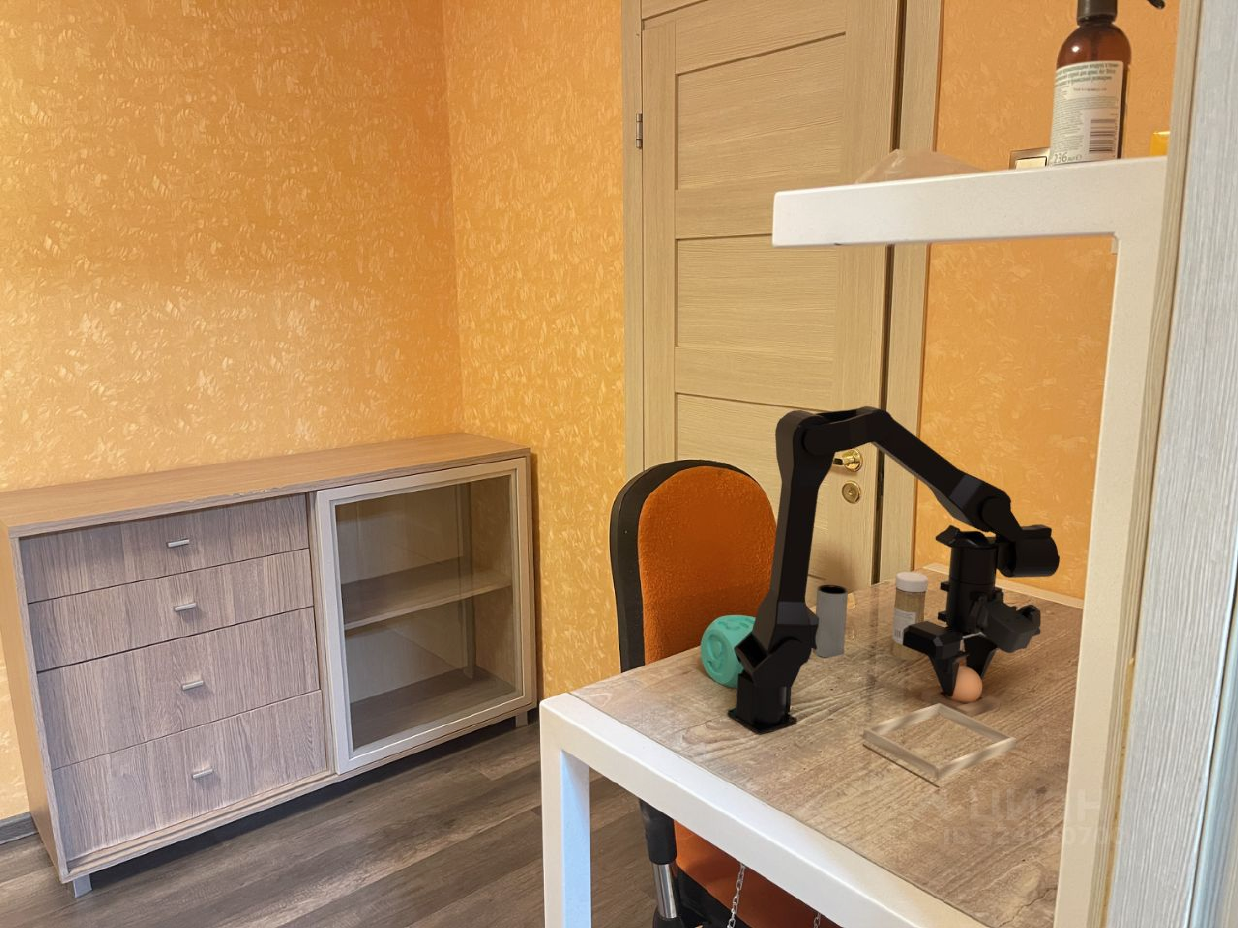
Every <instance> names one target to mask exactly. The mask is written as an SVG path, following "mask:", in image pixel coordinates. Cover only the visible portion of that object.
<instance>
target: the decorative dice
mask: <svg viewBox="0 0 1238 928" xmlns="http://www.w3.org/2000/svg"><path fill="white" fill-rule="evenodd" d="M755 619H756V616H755V617H754V616H749V615H743V614H729V615H723V616H719V617H716V618H715V619H714V620H713V621H712V622H711V623H710V624H709V625H708V627H707V628H706V629H705V631H704V633H703V636H702V637H701V638H702V639H701V641H700V657H701V661H702V664H703V667H704V669H705V671H706V672H707V675H709V676H710V678H711V679H712V680H714V682H716V683H717V684H719V685H721V684H722V686H724V685H725V687H729V688H733V687H734V688H735V689H737V678H738V674H739V673H742V670H743V669H744V668H743V666H742V665H741V664H740V663H739V662H738V660H737V657H736V654H735V651H734V647H735V646H736V645H737V644H738V643H740V642H741V641H742V640H743V639H744V638H745V637H746V636H747V635H748V634H749V633H750V632H751V631H752V629H753V625H754V622H755ZM734 688H733V689H734Z"/></svg>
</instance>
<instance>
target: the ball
mask: <svg viewBox="0 0 1238 928" xmlns="http://www.w3.org/2000/svg"><path fill="white" fill-rule="evenodd" d="M982 681H983V680H982ZM982 681H981V679H980V677H979V675H978V674H977V673H976V672H975V671H974V670H973V669H971V668H969V667H967V665H959V669H958V674H957V680H956V685H955V689H954V693H953V696H951V697H950V696H947V695H946V696H947V697H948V698H951V699H953V700H955V701H957V702H960V703H962V704H964V705H965V704H967V703H970V702H973V701H976V700H977V699H978V698H979V696H980V695H981V692H983V682H982Z"/></svg>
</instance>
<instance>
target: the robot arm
mask: <svg viewBox="0 0 1238 928" xmlns="http://www.w3.org/2000/svg"><path fill="white" fill-rule="evenodd" d="M774 431H775V435H774V436H775V437H774V438H775V454H776V461H777V466H778V470H779V475H780V479H781V485H780V486H781V487H780V496H779V505H778V513H777V520H776V528H775V529H776V530H775V537H774V547H773V555H772V562H771V571H770V579H769V588H768V590H767V593H766V595H765V596H764V598H763V599H762V601H761V602H760V605H759V607H758V609H757V613H756V616H755V618H756V619H755V622H754V625H753V629H752V631H751V632H750V633H749V634H748V635H747V636H746V637H745V638H744V639H743V640H742V641H741V642H740V643H738V644H737V645H736V646H735V647H734V651H735V654H736V657H737V660H738V662H739V663H740V664H741V665H742V666H743V668H744V669H743V670H742V673H739V674H738V678H737V688H736V702H735V703H736V704H735V707H734V708H732V709H729V710H727V716H728V717H731V718H732V719H734V720H735V721H737V722H738V723H741V725H743V726H745V727H747V728H749V729H750V730H752V731H753V732H755V733H757V734H759V735H761V734H762V735H763V734H765V733H768V732H769V733H770V732H772V731H775V730H779V729H781V728H785V727H788V726H791V725H795V724H797V721H798V718H797V717H795V716H793V715H791V714H790V713H791V704H792V703H791V702H792V687H793V686H794V683H795V682H796V678H797V677H798V674H799V672H800V670H801V667H802V666H804V664H807V663H808V662H809V660H810V658H811V655H812V649H813V650H814V649H815V650H816V649H817V646H816V633H817V629H818V626H819V617H818V616H817V615H816V612H813V610H811V608H810V607H808V605H807V603H806V595H807V594H806V593H807V585H808V578H809V571H810V562H811V553H812V544H813V539H814V531H815V530H814V528H815V521H816V516H817V515H816V514H817V513H816V512H817V506H818V498H819V492H820V491H819V490H820V488H821V486H822V484H823V482H824V481H825V479H826V477H827V475H828V474H829V472H830V471H831V468H832V465H833V462H834V459H835V455H836V453H839V452H840V453H841V452H844V451H849V450H853V449H856V448H860V446H864V445H866V444H871V445H873V446H874V447H875V448H876V449H878V450H879V451H881V452H882V453H883V454H885V455H886V456H887V457H889V459H891V460H892V461H894V462H895V463H896V464H898V466H900V467H901V468H903V469H905V470H906V471H907V472H909V473H910V475H912V476H914V478H916V479H917V480H919V481H920V482H922V484H924V485H926V486H927V487H928V488H929V490H931V492H932V493H933V495H934V497H935V498H936V500H937V501H938V503H939V504H940V505H941V506H942V507H943V509H944V510H945V511H946V512H947V513H948V514H949V515H950V516H951V518H953V519H954V520H957V521H959V522H960V523H963V524H966V525H967V526H970V527H972V528H974V529H976V530H961V529H960V528H959V527H957V526H955V525H952V524H949V525H948V527H946V529H945V530H943V531H941V532H940V533H938V534H937V535H936V536H935V538H934V539H935V541H936V542H939V543H940V544H942V545H944V546H945V547H947V548H950V554H949V555H950V557H949V567H948V576H947V577H948V579H947V580H945V581H941V582H940V588H939V590H941V591H942V592H943V591H944V592H946V600H945V601H946V602H945V610H941V611H938V612H937V621H940V622H944V623H945V626H942V625H940V624H937V623H934V622H932V621H929V620H925V621H924V622H920V623H916V624H912V625H909V626H908V627H906V628H905V629H904V630H903V641H902V644H903V646H906V647H908V648H911V649H913V650H915V651H918V652H920V653H921V654H923V655H925V656H927V658H928V659H929V661H930V663H931V666H932V668H933V669H934V673H935V675H936V677H937V679H938V682H939V686H940V685H941V687H942V690H943V692H944V694H945V695H947V696H950V697H951V696H953V693H954V689H955V685H956V680H957V674H958V669H959V666H960V664H961V663H960V662H961V661H963V660H964V659H965V663H966V665H965V666H966V667H969V668H971V669H973V670H974V671H975V672H976V673H977V674H978V675H979V677H980V679H981V681H983V679H984V677H985V675H986V672H987V670H988V668H989V666H990V664H991V661H992V660H993V657H995V654H996V653H997V652H998V650H1001V651H1003V652H1004V653H1006V654H1012V653H1014V652H1016V651H1019V650H1022V649H1023V650H1025V649H1027V648H1028V646H1029V644H1030V643H1031V640H1032V639H1033V637H1035V636H1039V635H1041V629H1040V628H1041V610H1040V609H1039V608H1037V607H1036V606H1035V605H1033V604H1028V605H1024V606H1022V607H1020V608H1019V609H1018V607H1017V606H1015V605H1014V606H1013V605H1012V606H1010V605H1008V604H1006V603H1004V596H1005V594H1004V592H1003V588H1001V587H998V586H996V582H997V573H998V572H997V571H999V573H1000V574H1001V575H1002V576H1003V577H1004V578H1008V579H1011V578H1012V579H1017V578H1023V579H1024V578H1049V577H1052V576H1053V575H1055V574H1056V572H1057V571H1058V569H1059V567H1060V561H1061V557H1060V554H1059V550H1058V546H1057V544H1056V541H1055V540H1054V538H1053V537H1052V534H1053V533H1052V531H1053V529H1052V528H1051V527H1050V526H1048V525H1045V524H1042V523H1041V524H1039V523H1038V524H1036V523H1035V524H1031V525H1022V526H1021V525H1020V523H1019V521H1018V520H1017V518H1016V517H1015V515H1014V513H1013V511H1011V510H1012V499H1011V497H1010V495H1009V494H1008V493H1006V492H1005V490H1003V489H1001V488H999V487H997V486H995V485H993V484H991V483H989V482H987V481H985V480H983V479H980V478H979V477H977V476H974V475H972V474H970V473H968V472H965V471H964V470H961V469H960V468H958V467H957V466H955V465H954V464H953V463H951V462H949V461H948V460H947V459H946V458H945V457H943V456H942V455H941V454H939V453H938V452H937V451H936V450H934V449H933V448H932V447H930V446H929V445H928V444H927V443H925V442H924V441H923V440H922V439H920V438H918V437H917V435H915V434H914V433H912V432H911V431H910V430H908V429H907V428H906V427H904V426H903V425H902V424H901V423H899V422H898V421H897V420H896V419H894V418H893V416H892V415H891V414H890V413H889V412H888V411H886V410H885V409H882V408H878V407H875V406H871V405H864V406H860V407H857V408H852V409H843V410H832V411H821V412H816V413H814V412H810V411H808V410H803V409H796V410H792V411H789V412H787V413H786V414H785V415H783V416H782V417H781V418H779V419H778V421H777V423H776V427H775V429H774ZM984 533H993V534H994V536H986V535H985V534H984ZM963 648H964V651H963Z"/></svg>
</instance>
